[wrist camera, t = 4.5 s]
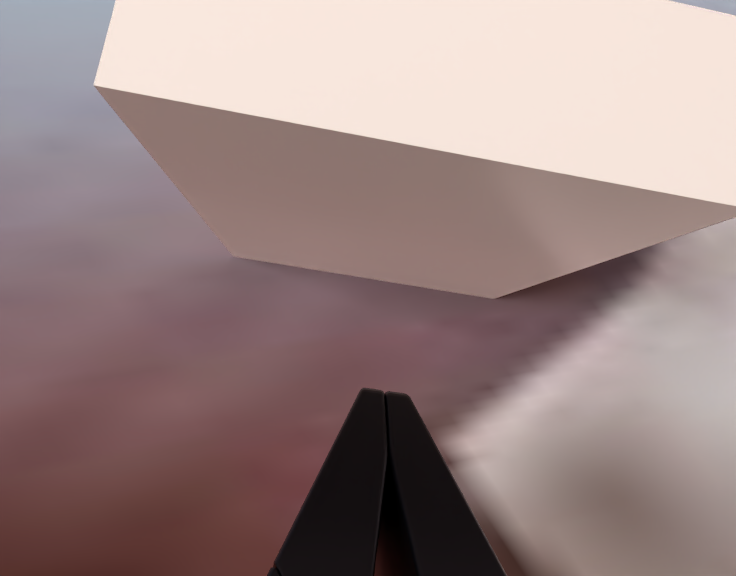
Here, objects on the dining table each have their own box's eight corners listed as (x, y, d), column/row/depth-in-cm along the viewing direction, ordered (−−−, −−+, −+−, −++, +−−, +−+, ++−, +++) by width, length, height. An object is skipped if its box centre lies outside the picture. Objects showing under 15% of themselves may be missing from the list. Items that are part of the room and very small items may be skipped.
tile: (493, 299, 16) (756, 210, 7) (233, 256, 16) (94, 85, 6) (502, 211, 17) (758, 8, 7) (251, 166, 16) (149, -129, 6)
